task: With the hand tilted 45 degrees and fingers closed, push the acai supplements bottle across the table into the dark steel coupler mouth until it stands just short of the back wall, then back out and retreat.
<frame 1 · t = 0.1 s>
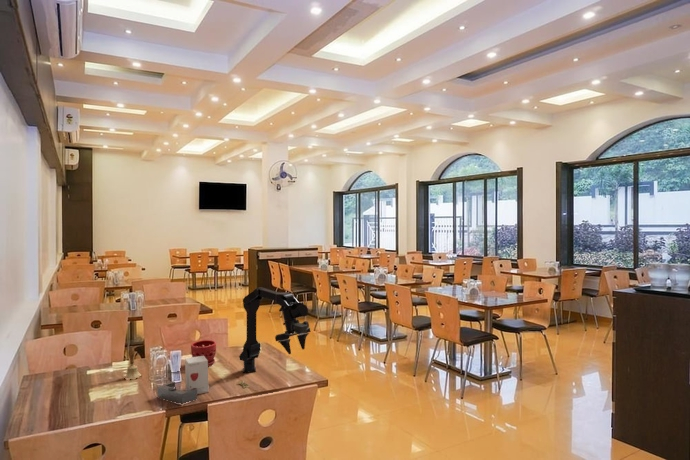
hand: (296, 351, 224), 15 cm above the table, tool pointing down, fingers open, 9 cm apart
brass key: (243, 385, 225), on the table
plant pot: (204, 365, 258), on the table
hand bell: (132, 377, 240), on the table
coupler mouth: (172, 400, 208), on the table
supplement box: (197, 391, 219), on the table
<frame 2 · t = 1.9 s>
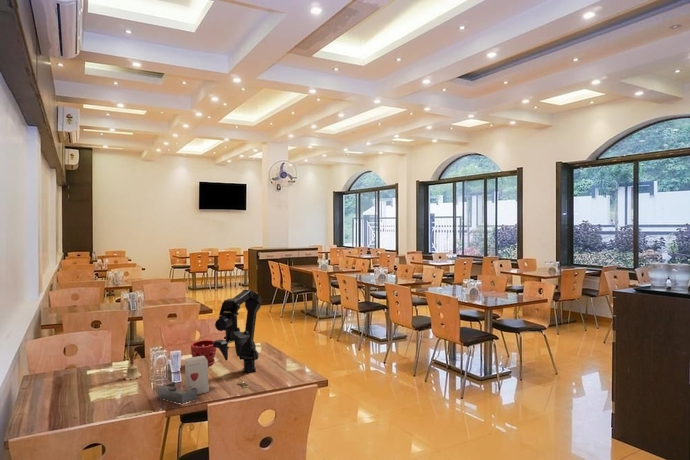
hand: (232, 358, 228), 12 cm above the table, tool pointing down, fingers open, 7 cm apart
nothing on the table moved.
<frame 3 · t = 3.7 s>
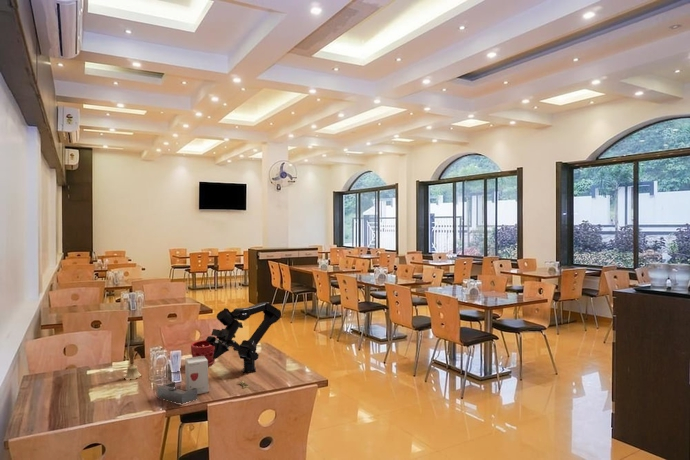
hand: (213, 358, 227), 12 cm above the table, tool tilted 45°, fingers closed
nothing on the table moved.
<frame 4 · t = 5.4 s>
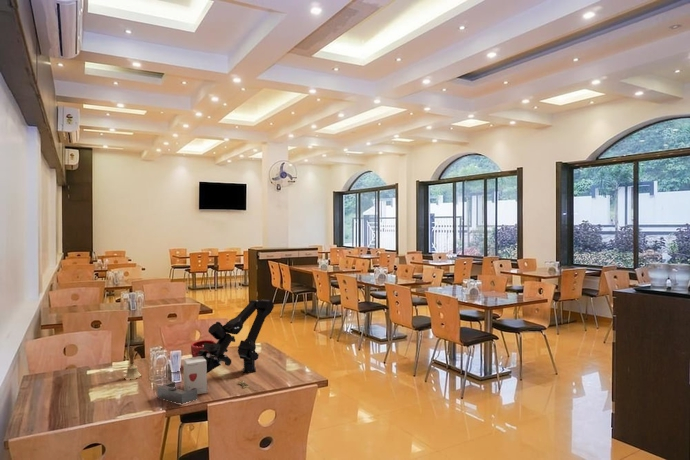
hand: (204, 373, 222), 7 cm above the table, tool tilted 45°, fingers closed
supplement box: (195, 392, 218), on the table, touching gripper
everything else where it was.
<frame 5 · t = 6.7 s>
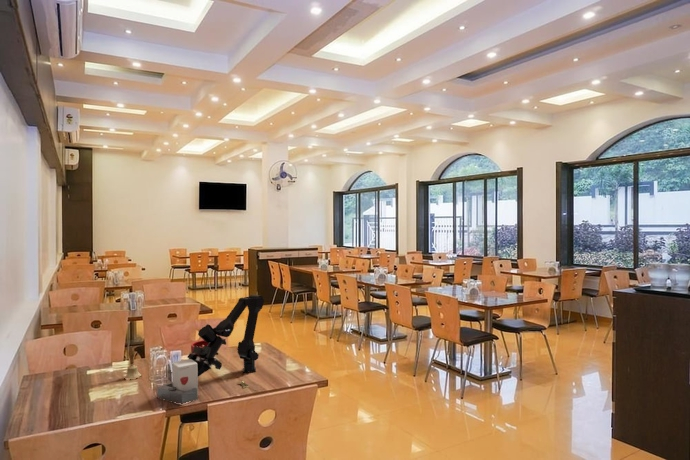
hand: (194, 377, 217), 7 cm above the table, tool tilted 45°, fingers closed
supplement box: (185, 395, 214), on the table, touching coupler mouth, gripper
everything else where it was.
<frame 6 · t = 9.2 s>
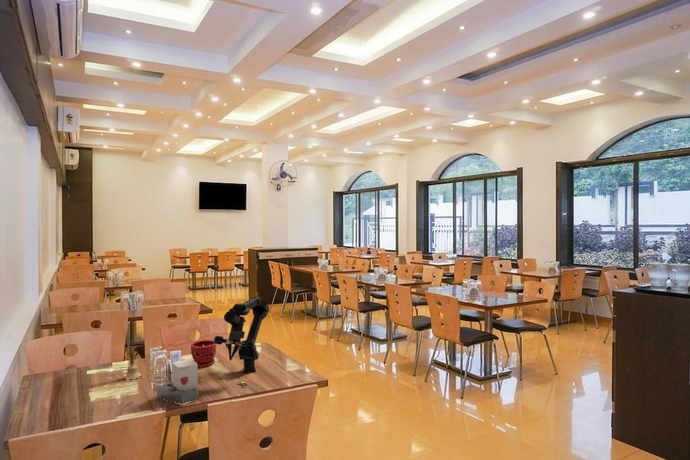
hand: (230, 360, 226), 12 cm above the table, tool tilted 30°, fingers closed
supplement box: (185, 395, 214), on the table
everything else where it was.
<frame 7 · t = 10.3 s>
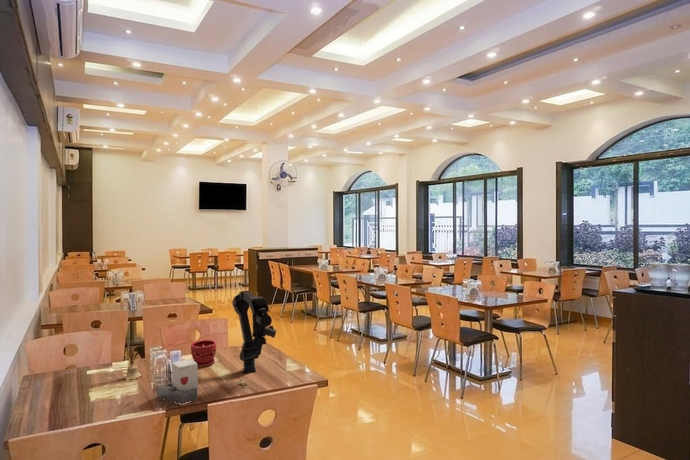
hand: (259, 354, 233), 12 cm above the table, tool pointing down, fingers closed
nothing on the table moved.
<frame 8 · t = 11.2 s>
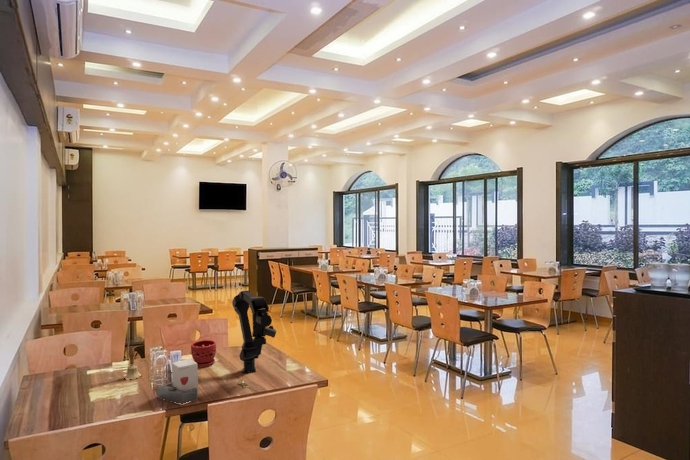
hand: (259, 354, 233), 12 cm above the table, tool pointing down, fingers closed
nothing on the table moved.
at the end: supplement box inside the target area (1.1 cm from its centre), on the table; supplement box tilted 0°; supplement box moved 6.2 cm from its start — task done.
